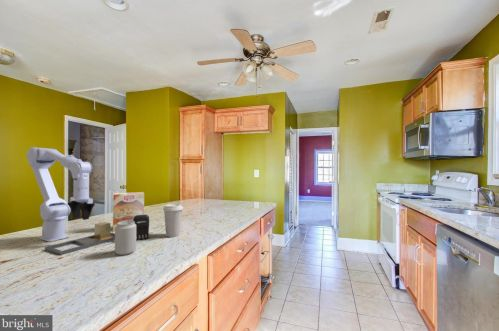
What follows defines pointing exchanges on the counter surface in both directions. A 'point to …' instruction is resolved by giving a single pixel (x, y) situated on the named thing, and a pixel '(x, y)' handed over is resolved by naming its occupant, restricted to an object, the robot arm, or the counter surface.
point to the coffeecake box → (127, 206)
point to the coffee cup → (173, 219)
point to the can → (125, 237)
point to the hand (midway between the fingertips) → (81, 218)
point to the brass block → (102, 231)
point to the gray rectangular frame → (84, 242)
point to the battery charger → (142, 226)
